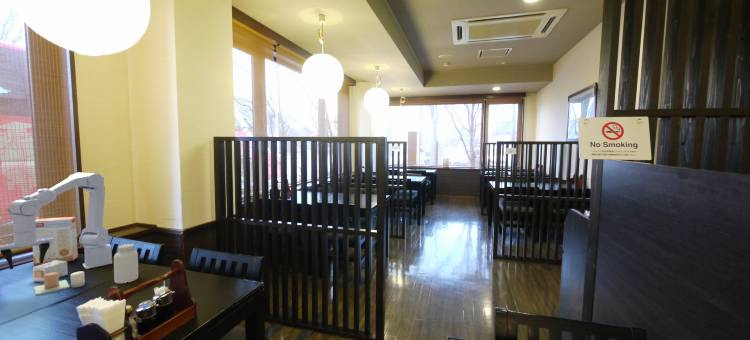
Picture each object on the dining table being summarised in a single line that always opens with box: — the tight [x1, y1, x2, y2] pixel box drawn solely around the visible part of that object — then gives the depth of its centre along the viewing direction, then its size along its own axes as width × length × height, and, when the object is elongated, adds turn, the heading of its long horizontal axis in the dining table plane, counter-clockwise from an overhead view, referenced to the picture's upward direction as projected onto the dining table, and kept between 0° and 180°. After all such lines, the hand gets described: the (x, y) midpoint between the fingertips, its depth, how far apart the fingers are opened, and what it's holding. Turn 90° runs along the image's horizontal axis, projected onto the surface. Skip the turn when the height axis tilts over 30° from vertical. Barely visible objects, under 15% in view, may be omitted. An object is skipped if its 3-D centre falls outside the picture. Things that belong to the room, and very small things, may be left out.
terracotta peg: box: [43, 272, 60, 289], centre depth 121 cm, size 4×4×5 cm
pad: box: [33, 279, 71, 297], centre depth 122 cm, size 9×9×1 cm
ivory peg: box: [70, 270, 86, 288], centre depth 124 cm, size 4×4×5 cm
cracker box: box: [32, 216, 79, 266], centre depth 148 cm, size 14×6×21 cm, turn 115°
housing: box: [32, 260, 69, 283], centre depth 130 cm, size 9×6×6 cm
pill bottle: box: [113, 243, 139, 284], centre depth 130 cm, size 8×8×15 cm
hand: (26, 265), depth 119 cm, fingers open, 7 cm apart
